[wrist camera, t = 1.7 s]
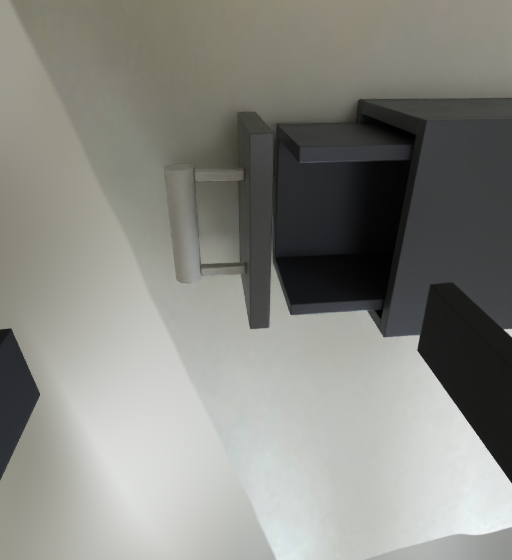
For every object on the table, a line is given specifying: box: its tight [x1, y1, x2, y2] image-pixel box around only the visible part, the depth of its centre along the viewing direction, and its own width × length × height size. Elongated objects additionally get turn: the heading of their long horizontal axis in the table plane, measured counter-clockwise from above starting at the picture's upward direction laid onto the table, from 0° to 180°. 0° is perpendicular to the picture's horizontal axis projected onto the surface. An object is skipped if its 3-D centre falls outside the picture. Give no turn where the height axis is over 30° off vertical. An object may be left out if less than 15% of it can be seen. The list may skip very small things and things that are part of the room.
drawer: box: [164, 112, 416, 329], centre depth 26 cm, size 18×11×8 cm, turn 90°
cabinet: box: [356, 98, 512, 337], centre depth 27 cm, size 15×13×10 cm
